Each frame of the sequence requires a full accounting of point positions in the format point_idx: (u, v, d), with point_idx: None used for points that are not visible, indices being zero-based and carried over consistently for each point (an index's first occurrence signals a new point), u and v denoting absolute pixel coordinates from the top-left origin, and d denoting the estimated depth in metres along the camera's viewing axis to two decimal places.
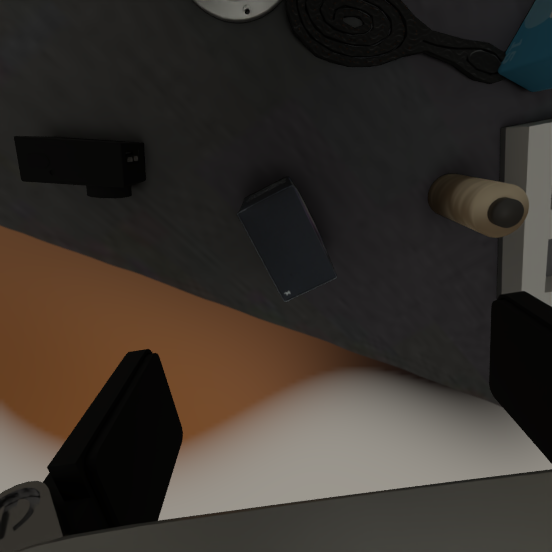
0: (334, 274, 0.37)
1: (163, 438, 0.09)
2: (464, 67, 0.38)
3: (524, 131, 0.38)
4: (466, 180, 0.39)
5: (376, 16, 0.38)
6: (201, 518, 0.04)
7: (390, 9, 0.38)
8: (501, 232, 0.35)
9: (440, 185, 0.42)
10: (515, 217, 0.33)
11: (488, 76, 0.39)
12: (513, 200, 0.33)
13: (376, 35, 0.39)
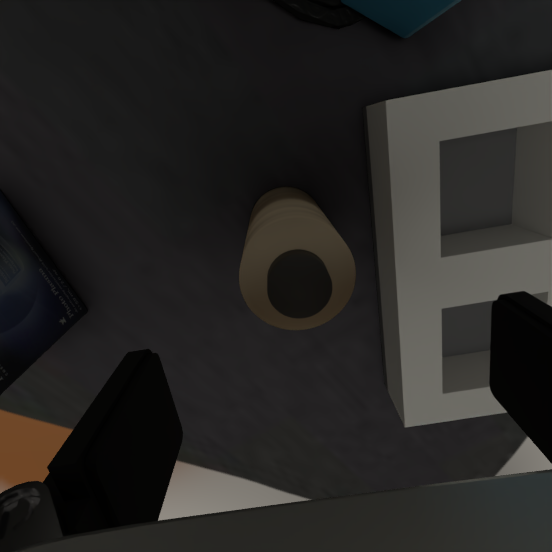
0: None
1: (163, 438, 0.09)
2: None
3: (382, 110, 0.20)
4: (272, 204, 0.20)
5: None
6: (201, 518, 0.04)
7: None
8: (305, 320, 0.17)
9: (254, 208, 0.24)
10: (314, 297, 0.15)
11: (326, 12, 0.21)
12: (304, 261, 0.14)
13: None
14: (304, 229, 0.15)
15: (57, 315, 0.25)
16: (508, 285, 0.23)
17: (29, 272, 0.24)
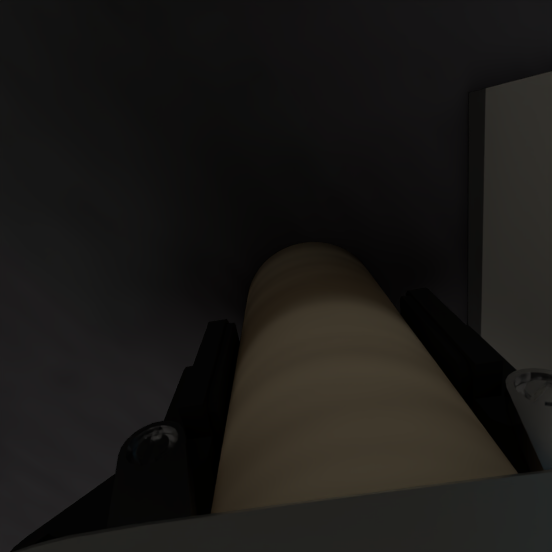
0: None
1: None
2: None
3: None
4: (294, 314, 0.08)
5: None
6: (201, 518, 0.04)
7: None
8: None
9: (254, 291, 0.12)
10: None
11: None
12: None
13: None
14: None
15: None
16: None
17: None
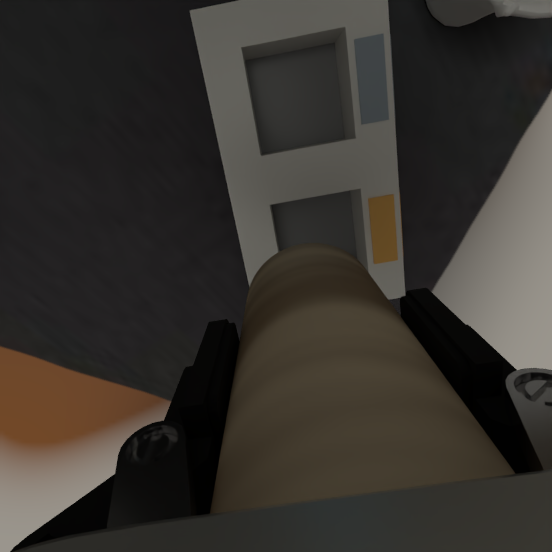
0: None
1: None
2: None
3: None
4: (293, 316, 0.08)
5: None
6: (201, 518, 0.04)
7: None
8: None
9: (254, 293, 0.12)
10: None
11: None
12: None
13: None
14: None
15: None
16: (324, 182, 0.26)
17: None
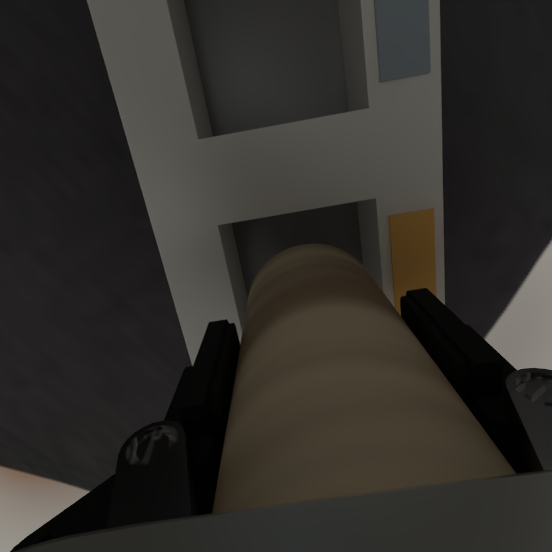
0: None
1: None
2: None
3: None
4: (295, 317, 0.08)
5: None
6: (201, 518, 0.04)
7: None
8: None
9: (255, 293, 0.12)
10: None
11: None
12: None
13: None
14: None
15: None
16: (312, 187, 0.15)
17: None
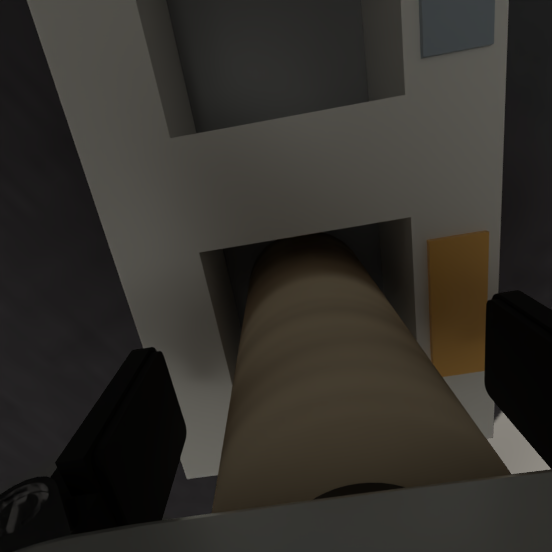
0: None
1: (168, 435, 0.10)
2: None
3: None
4: (290, 286, 0.10)
5: None
6: (201, 518, 0.04)
7: None
8: None
9: (256, 273, 0.14)
10: None
11: None
12: None
13: None
14: (394, 438, 0.05)
15: None
16: (325, 202, 0.11)
17: None
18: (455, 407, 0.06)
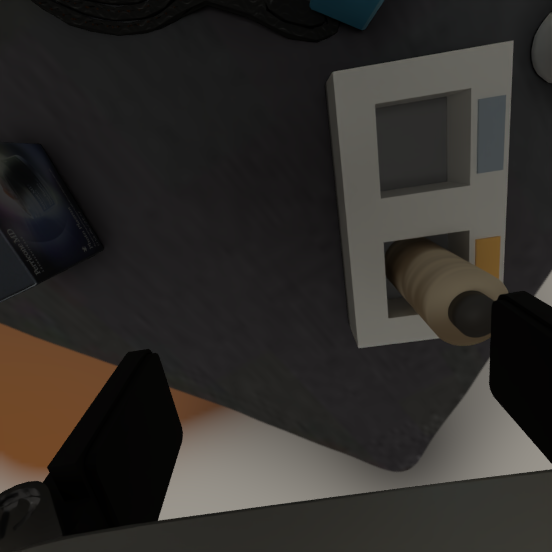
0: (31, 279, 0.25)
1: (163, 438, 0.09)
2: (265, 20, 0.27)
3: (332, 81, 0.26)
4: (426, 253, 0.27)
5: None
6: (201, 518, 0.04)
7: None
8: (469, 339, 0.24)
9: (396, 252, 0.31)
10: (487, 323, 0.22)
11: (307, 31, 0.28)
12: (484, 299, 0.22)
13: None
14: (478, 277, 0.22)
15: (80, 243, 0.31)
16: (436, 223, 0.28)
17: (60, 207, 0.30)
18: None
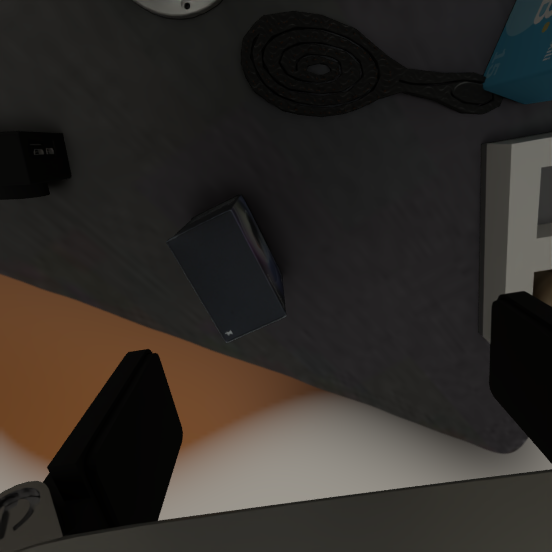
0: (283, 312, 0.32)
1: (163, 438, 0.09)
2: (449, 102, 0.34)
3: (506, 149, 0.33)
4: None
5: (344, 60, 0.34)
6: (201, 518, 0.04)
7: (358, 51, 0.34)
8: None
9: (535, 278, 0.38)
10: None
11: (478, 107, 0.35)
12: None
13: (346, 80, 0.35)
14: None
15: (280, 276, 0.38)
16: None
17: (267, 248, 0.37)
18: None
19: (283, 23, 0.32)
